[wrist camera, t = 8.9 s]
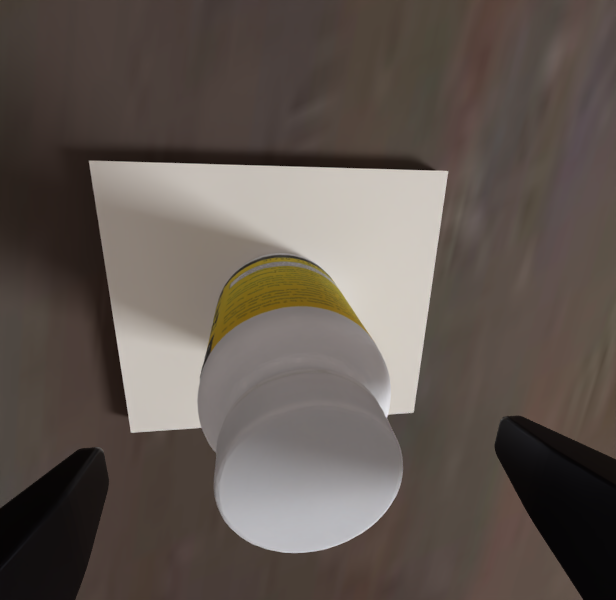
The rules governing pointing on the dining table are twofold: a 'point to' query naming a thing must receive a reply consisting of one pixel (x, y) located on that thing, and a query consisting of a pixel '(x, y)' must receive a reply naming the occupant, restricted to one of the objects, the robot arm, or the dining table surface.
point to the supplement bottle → (296, 410)
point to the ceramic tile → (252, 244)
